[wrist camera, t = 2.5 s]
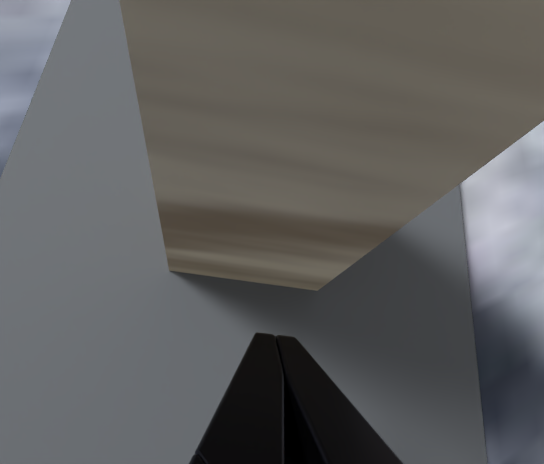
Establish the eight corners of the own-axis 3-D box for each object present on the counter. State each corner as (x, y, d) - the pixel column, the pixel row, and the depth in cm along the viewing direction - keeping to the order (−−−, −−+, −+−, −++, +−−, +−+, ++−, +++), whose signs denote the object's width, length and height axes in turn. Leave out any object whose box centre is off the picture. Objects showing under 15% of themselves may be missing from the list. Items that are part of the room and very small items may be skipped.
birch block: (317, 290, 16) (784, -60, 3) (169, 270, 15) (65, -293, 3) (322, 184, 18) (637, -299, 5) (190, 160, 17) (190, -480, 5)
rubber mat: (481, 512, 15) (492, 517, 14) (-108, 478, 12) (-121, 483, 12) (435, 18, 25) (441, 10, 24) (103, -64, 22) (101, -76, 21)
